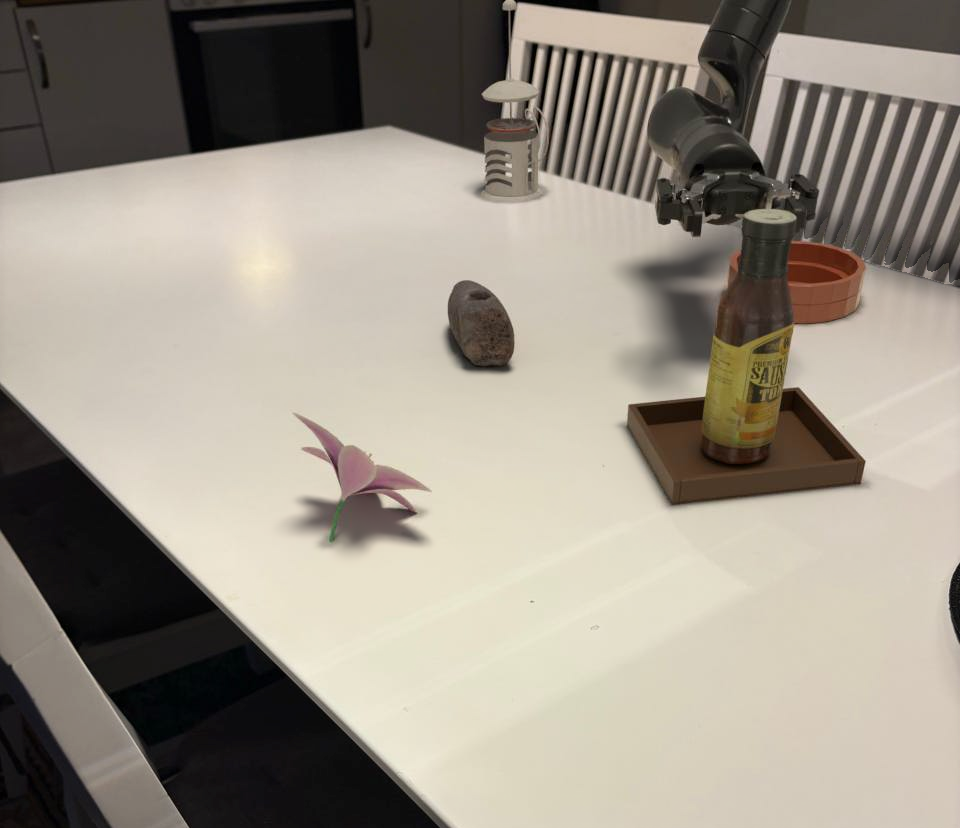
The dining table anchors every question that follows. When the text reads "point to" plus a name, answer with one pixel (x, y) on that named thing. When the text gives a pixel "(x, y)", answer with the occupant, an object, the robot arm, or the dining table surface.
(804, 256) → the bowl
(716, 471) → the tray
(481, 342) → the perforated stone tool
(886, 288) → the dining table surface
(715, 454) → the sauce bottle
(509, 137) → the french press
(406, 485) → the lily
